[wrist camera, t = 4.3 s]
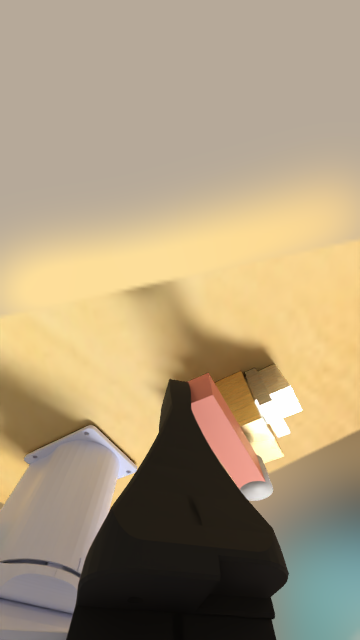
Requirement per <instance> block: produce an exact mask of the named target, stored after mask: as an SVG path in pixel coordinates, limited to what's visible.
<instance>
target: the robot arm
mask: <svg viewBox="0 0 360 640" xmlns="http://www.w3.org/2000/svg"><path fill="white" fill-rule="evenodd" d="M24 460H25V462H27V463H28V464H30V465H29V467H28V468H27V470H26V471H25V473H24V474H23V476H22V477H21V479H20V481H19V482H18V484H17V485H16V487H15V488H14V490H13V491H12V493H11V495H10V496H9V498H8V499H7V501H6V502H5V504H4V505H3V507H2V509H1V510H0V640H276V637H275V632H274V629H273V624H272V620H271V619H274V618H275V612H274V609H273V604H272V600H271V596H272V595H274V593H276V592H277V591H278V590H279V589H281V588H282V587H283V586H284V584H285V583H286V582H287V579H288V574H289V573H288V570H287V567H286V564H285V560H284V557H283V554H282V551H281V548H280V545H279V543H278V541H277V538H276V536H275V533H274V530H273V528H272V527H271V526H270V525H269V524H268V523H267V521H266V520H265V519H264V518H263V517H262V516H261V515H260V513H259V512H258V511H257V510H256V509H255V508H254V507H253V505H252V504H251V503H250V502H249V501H248V500H247V498H246V497H245V496H244V495H243V493H242V492H241V491H240V489H239V488H238V487H237V486H236V484H235V483H234V481H233V480H232V479H231V477H230V476H229V474H228V473H227V472H226V470H225V469H224V467H223V466H222V465H221V463H220V462H219V460H218V458H217V457H216V455H215V454H214V452H213V450H212V449H211V447H210V445H209V444H208V442H207V440H206V438H205V437H204V435H203V433H202V431H201V429H200V427H199V425H198V423H197V421H196V419H195V416H194V414H193V412H192V409H191V390H190V386H189V383H188V382H183V381H177V380H172V379H169V382H168V386H167V390H166V393H165V397H164V400H163V404H162V408H161V416H160V424H159V434H158V435H157V437H156V439H155V441H154V443H153V445H152V447H151V448H150V450H149V452H148V454H147V455H146V457H145V459H144V460H143V462H142V464H141V465H140V467H139V468H138V470H137V466H136V465H135V464H134V463H133V462H132V461H131V460H130V459H129V458H128V457H127V456H126V455H125V454H124V453H123V452H122V451H120V450H119V449H118V448H117V447H116V446H115V445H114V444H113V443H112V442H111V441H110V440H109V439H108V438H107V437H106V436H105V435H104V434H102V433H101V432H100V431H99V430H98V429H97V428H96V427H95V426H93V425H89V426H86V427H84V428H82V429H80V430H78V431H76V432H74V433H71V434H69V435H67V436H65V437H63V438H61V439H59V440H57V441H54V442H52V443H50V444H48V445H46V446H44V447H42V448H40V449H37V450H35V451H33V452H31V453H29V454H27V455H26V456H25V458H24ZM135 472H136V473H135ZM132 473H135V474H134V476H133V477H132V479H131V481H130V482H129V483H128V485H127V486H126V488H125V489H124V491H123V492H122V493H121V495H120V496H119V497H118V499H117V500H116V502H115V503H114V504H113V506H112V507H111V509H110V505H111V501H112V497H113V493H114V489H115V485H116V481H117V479H119V478H122V477H125V476H127V475H130V474H132ZM109 509H110V511H109Z"/></svg>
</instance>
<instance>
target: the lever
mask: <svg viewBox="0 0 360 640" xmlns="http://www.w3.org/2000/svg"><path fill="white" fill-rule="evenodd" d="M188 383H189V386H190V390H191V409H192V412H193V414H194V416H195V419H196V421H197V423H198V425H199V427H200V429H201V431H202V433H203V435H204V437H205V438H206V440H207V442H208V444H209V445H210V447H211V449H212V450H213V452H214V454H215V455H216V456H217V458H218V459H219V461H220V462H221V463H222V465H223V466H224V468H225V469H226V471H227V472H228V473H229V475H230V476H231V478H232V479H233V480H234V482H235V483H236V485H237V486H238V488H239V489H240V491H241V492H242V493H243V495H244V496H245V497H246V498H247V500H252V501H256V500H262V499H264V498H267V497H268V496H270V495H271V494H272V492H273V487H272V484H271V481H270V478H269V476H268V473H267V470H266V467H265V464H264V462H263V459H262V458H261V457H260V456H259V455H256V453H255V451H254V450H253V448H252V446H251V444H250V443H249V441H248V439H247V438H246V436H245V434H244V433H243V431H242V429H241V427H240V426H239V424H238V422H237V421H236V419H235V417H234V415H233V414H232V412H231V410H230V409H229V407H228V405H227V404H226V402H225V400H224V398H223V397H222V395H221V393H220V392H219V390H218V388H217V386H216V385H215V383H214V381H213V380H212V378H211V376H210V375H209V373H207V374H204V375H202V376H200V377H197V378H195V379H192V380H190V381H188Z"/></svg>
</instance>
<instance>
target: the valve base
mask: <svg viewBox="0 0 360 640" xmlns="http://www.w3.org/2000/svg"><path fill="white" fill-rule="evenodd" d="M245 374H246V377H244V375H243V373H242V372H241V371H239V372H237V373H235V374H233V375H231V376H228V377H226V378H224V379H222V380H220V381H217V382H215V385H216V386H217V388H218V390H219V392H220V393H221V395H222V397H223V398H224V400H225V402H226V404H227V405H228V407H229V409H230V410H231V412H232V414H233V415H234V417H235V419H236V421H237V422H238V424H239V426H240V427H241V429H242V431H243V433H244V434H245V436H246V438H247V439H248V441H249V443H250V444H251V446H252V448H253V450H254V451H255V453H256V455H259V456H260V457H261V458H262V459H263V462H264V463H266V462H269V461H272V460H275V459H278V458H280V457H283V456H284V455H283V453H282V451H281V448H280V446H279V444H278V442H277V440H276V437H275V435H274V433H273V431H272V429H271V426H272V428H273V430H274V431H275V433H276V435H277V437H278V438H279V437H281V436H284V435H287V434H290V431H289V429H288V427H287V425H286V423H285V422H284V420H283V418H284V417H287V416H289V415H292V414H295V413H297V412H300V411H302V409H301V407H300V405H299V403H298V401H297V399H296V397H295V395H294V392H293V390H292V388H291V386H290V385H289V383H288V382H287V381H286V379H285V378H284V376H283V375H282V373H281V372H280V371H279V369H278V368H277V366H276V365H275V364H273V365H271V366H269V367H266V368H264V369H262V370H260V371H257V370H256V368H253V369H251V370H248V371H246V372H245ZM269 423H270V424H269ZM270 425H271V426H270ZM216 457H217V456H216ZM218 460H219V459H218ZM219 462H220V461H219ZM220 463H221V462H220ZM221 465H222V463H221ZM222 466H223V465H222ZM223 467H224V466H223ZM224 469H225V468H224ZM225 470H226V469H225ZM226 472H227V471H226ZM227 473H228V472H227ZM228 474H229V473H228Z"/></svg>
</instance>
